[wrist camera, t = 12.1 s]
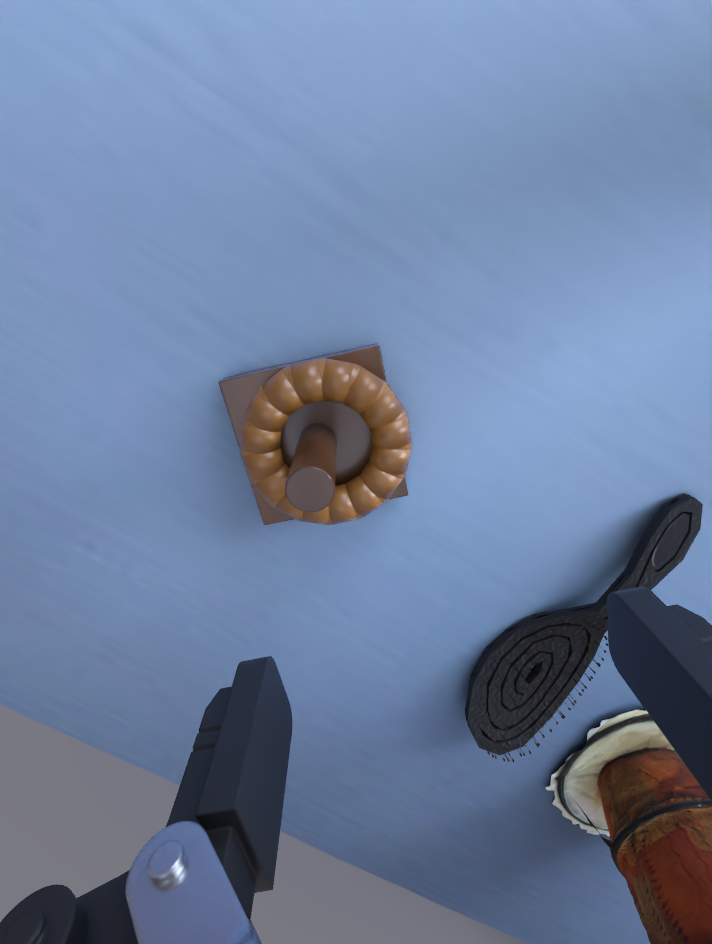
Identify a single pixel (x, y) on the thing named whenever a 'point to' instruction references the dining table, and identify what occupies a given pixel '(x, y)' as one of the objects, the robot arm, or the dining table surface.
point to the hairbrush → (564, 642)
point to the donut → (336, 386)
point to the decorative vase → (645, 822)
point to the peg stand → (312, 437)
